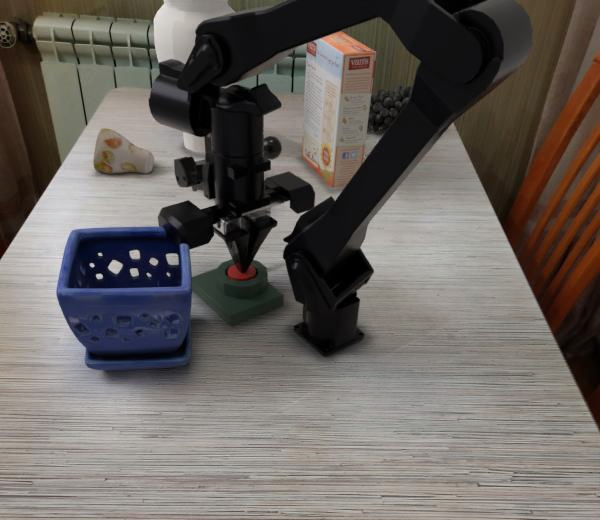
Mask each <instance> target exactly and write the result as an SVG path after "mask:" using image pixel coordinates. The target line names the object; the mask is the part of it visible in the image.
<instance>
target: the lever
mask: <svg viewBox="0 0 600 520" xmlns="http://www.w3.org/2000/svg"><path fill="white" fill-rule="evenodd" d="M282 151H283V144H282V142H281V140H280V139H279V138H278V137H277V136H274V135H267V136H266V137H265V136H264V157H265V158H267V159H269V160H270V161H271V160H276V159H278V158H279V157H280V155H282Z"/></svg>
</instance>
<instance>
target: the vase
mask: <svg viewBox="0 0 600 520" xmlns="http://www.w3.org/2000/svg"><path fill="white" fill-rule="evenodd" d="M162 1H163V4H162V5H161V7H160V8H158V10H157V11H156V13H155V15H154V18H153V44H154V48H155V53H156V58H157V63H158V64H159V63H160V62H162V61H166V60H169V59H175V60H178V61H180V62H182V63H184V64H186V62H187V60H188V58H189V56H190V54H191V52H192V49H193V47H194V45H195V38H196V34H195V30H196V28H197V26H198V25H199V24H200V23H201V22H202V21H204V20H207V19H211V18H215V17H219V16H223V15H227V14H230V13H234V12H236V11H235V10H234V9H233V8H232V7H231V6H230V5H229V0H162ZM236 84H237V85H238V82H236V83H234V84H231V85H236ZM231 85H228V86H225V87H222V88H228V87H229V86H231ZM182 135H183V145H184V147H185V149H187V150H189V151H192V152H195V153H202V154H203V153H204V154H205V140H204V137H197V136H194V135H191V134H188V133H186V132H183V131H182Z"/></svg>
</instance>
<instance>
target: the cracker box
mask: <svg viewBox="0 0 600 520" xmlns="http://www.w3.org/2000/svg"><path fill="white" fill-rule="evenodd" d="M305 56H306V57H305V75H304V95H303V96H304V97H303V117H302V119H303V120H302V140H301V141H302V142H301V157H302V158H303V159H304V160H305V161H306V163H308V164H309V166H311V168H312V169H313V170H314V171H315V172H316V173H317V174H318V175H319V176H320V177H321V178H322V179H323V181H324V182H326V183H327V184H328V185H329V186H330V187H331V188H339V187H346V185H347V184H348V182H349V181H350V180H351V178H352V177H353V176H354V174H355V173H356V171H357V170H358V169H359V167H360V166H361V165H362V163H363V162H364V160H365V157H364V156H365V149H366V140H367V134H368V133H367V132H368V128H367V126H368V117H369V109H370V101H371V95H372V91H373V83H374V77H375V76H374V75H375V67H376V59H377V51H375V50H374V49H372V48H371V47H369V46H367V45H365V44H364V43H362V42H361V41H359V40H357V39H355V38H353V37H352V36H350V35H349V34H347V33H345V32H343V31H340V32H337V33H335V34H332V35H329V36H326V37H324V38H321V39H318V40H315V41H313V42H310V43H307V44H306V55H305Z"/></svg>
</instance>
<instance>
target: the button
mask: <svg viewBox="0 0 600 520" xmlns="http://www.w3.org/2000/svg"><path fill="white" fill-rule="evenodd" d="M228 277H229V278H230V279H233V280H236V281H248V280H250V279H253V278H255V277H256V270H255V268H254V267H253V266H251V265H250V266H249V268H248V270H247V271H246V272H244V273H241V272H239V271H238V270H237V268H236V266H235V265H232V266H231V267H229V268H228Z"/></svg>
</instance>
